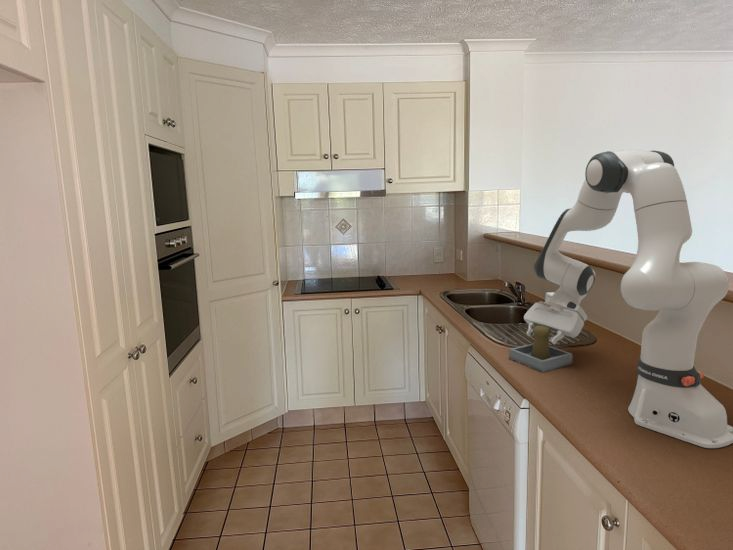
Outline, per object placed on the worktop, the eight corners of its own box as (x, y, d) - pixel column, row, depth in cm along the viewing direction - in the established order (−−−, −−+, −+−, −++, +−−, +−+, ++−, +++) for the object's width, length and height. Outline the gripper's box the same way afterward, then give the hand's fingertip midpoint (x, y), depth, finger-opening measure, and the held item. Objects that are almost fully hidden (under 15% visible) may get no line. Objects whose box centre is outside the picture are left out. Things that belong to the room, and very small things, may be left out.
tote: (572, 363, 153) (572, 353, 153) (542, 372, 147) (542, 361, 146) (538, 351, 165) (538, 342, 165) (509, 358, 159) (509, 349, 158)
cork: (538, 362, 152) (540, 330, 150) (526, 356, 158) (528, 325, 156) (553, 360, 154) (555, 328, 152) (542, 354, 160) (544, 323, 158)
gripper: (533, 295, 165) (511, 326, 162) (584, 307, 147) (561, 342, 144) (541, 305, 168) (520, 336, 165) (592, 318, 150) (570, 353, 147)
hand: (539, 339), depth 154 cm, fingers open, 8 cm apart
